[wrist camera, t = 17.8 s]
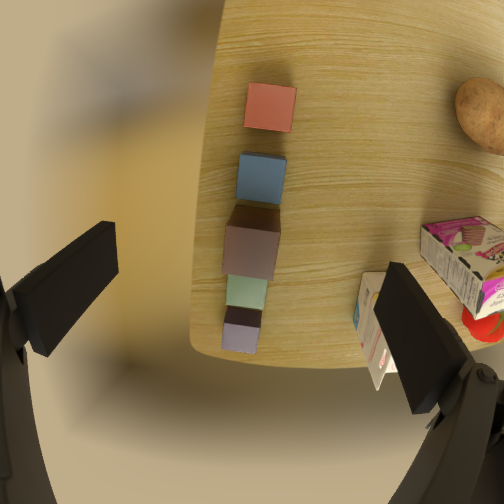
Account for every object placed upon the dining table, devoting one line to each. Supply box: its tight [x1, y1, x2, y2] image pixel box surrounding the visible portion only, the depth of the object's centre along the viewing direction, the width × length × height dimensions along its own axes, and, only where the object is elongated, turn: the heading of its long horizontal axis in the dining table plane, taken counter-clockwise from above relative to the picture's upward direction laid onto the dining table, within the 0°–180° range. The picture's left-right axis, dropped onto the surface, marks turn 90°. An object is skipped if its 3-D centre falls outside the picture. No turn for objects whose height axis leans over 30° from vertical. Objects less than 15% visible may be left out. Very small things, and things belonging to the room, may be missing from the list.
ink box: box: [353, 272, 398, 390], centre depth 34 cm, size 8×5×15 cm, turn 179°
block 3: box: [225, 274, 268, 310], centre depth 40 cm, size 5×5×4 cm
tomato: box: [462, 306, 504, 343], centre depth 35 cm, size 14×13×9 cm
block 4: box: [222, 307, 262, 354], centre depth 43 cm, size 5×5×4 cm
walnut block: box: [222, 205, 281, 281], centre depth 35 cm, size 6×6×8 cm
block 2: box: [235, 151, 287, 205], centre depth 34 cm, size 5×5×4 cm
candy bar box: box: [420, 216, 504, 320], centre depth 29 cm, size 11×5×16 cm, turn 102°
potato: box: [455, 78, 504, 156], centre depth 25 cm, size 10×14×8 cm
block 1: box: [243, 82, 297, 133], centre depth 30 cm, size 5×5×4 cm
